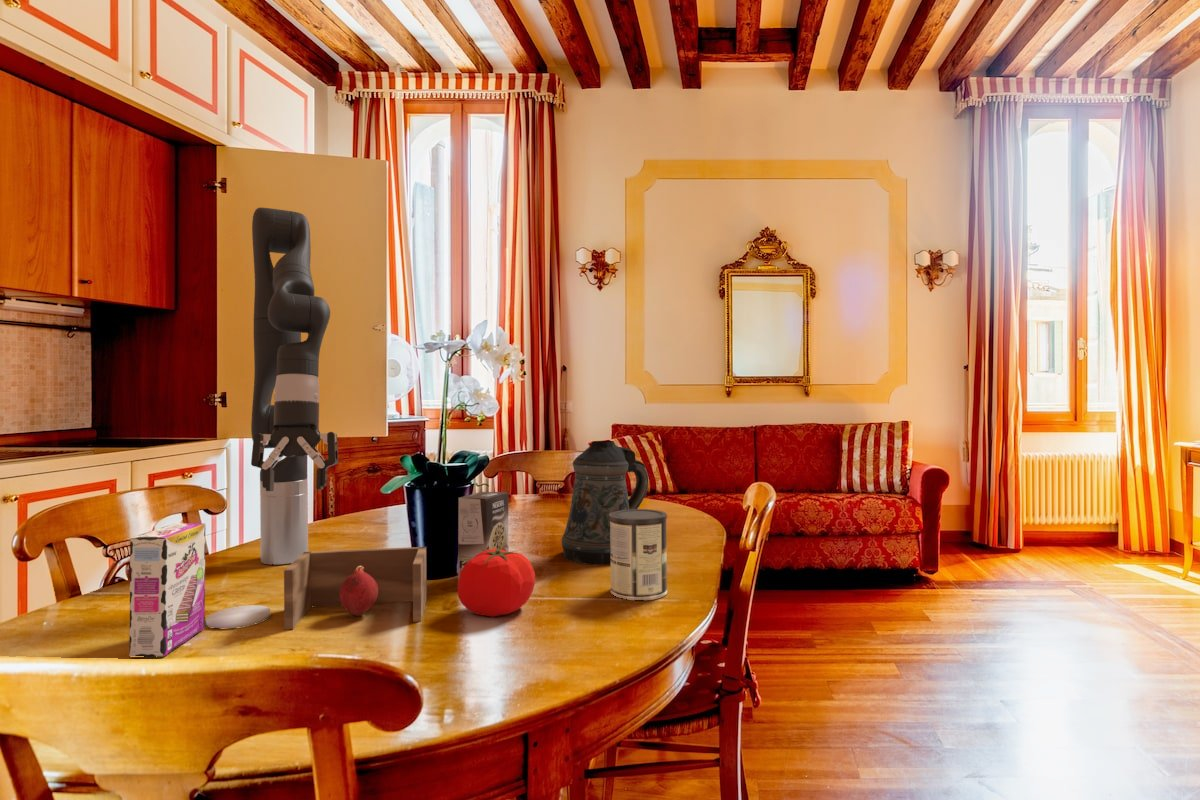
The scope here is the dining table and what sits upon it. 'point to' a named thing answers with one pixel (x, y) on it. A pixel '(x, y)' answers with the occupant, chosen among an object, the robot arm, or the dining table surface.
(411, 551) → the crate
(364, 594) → the onion
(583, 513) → the beer stein
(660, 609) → the dining table surface
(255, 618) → the coaster
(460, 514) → the coffee box
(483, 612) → the tomato
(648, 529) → the coffee can
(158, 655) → the candy bar box
